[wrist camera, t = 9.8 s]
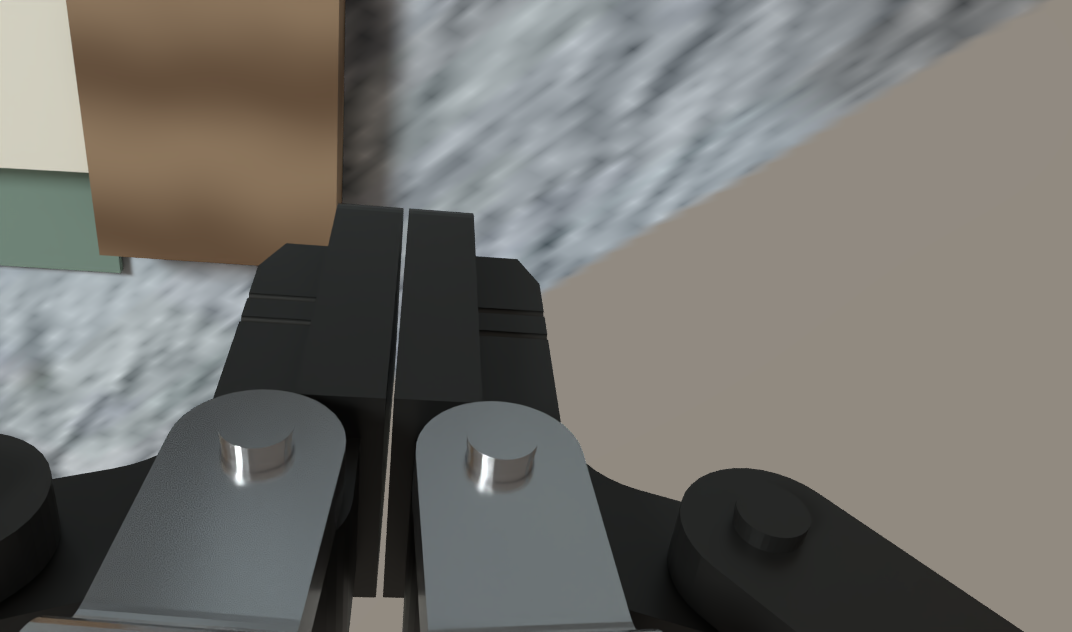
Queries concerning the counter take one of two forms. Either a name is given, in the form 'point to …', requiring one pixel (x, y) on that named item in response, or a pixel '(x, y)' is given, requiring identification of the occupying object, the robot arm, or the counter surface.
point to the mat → (50, 222)
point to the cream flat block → (39, 89)
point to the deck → (211, 124)
